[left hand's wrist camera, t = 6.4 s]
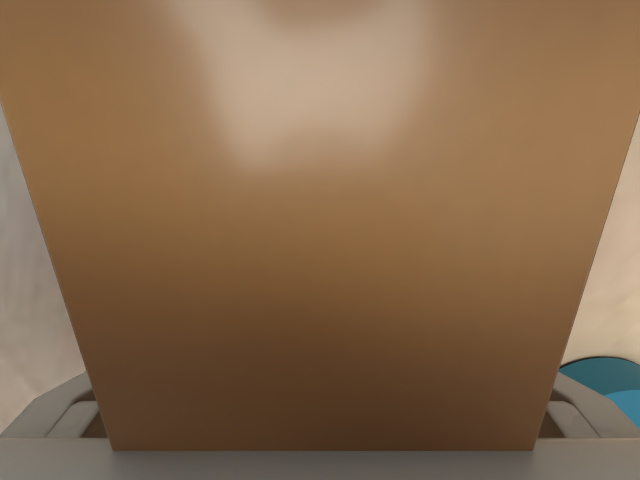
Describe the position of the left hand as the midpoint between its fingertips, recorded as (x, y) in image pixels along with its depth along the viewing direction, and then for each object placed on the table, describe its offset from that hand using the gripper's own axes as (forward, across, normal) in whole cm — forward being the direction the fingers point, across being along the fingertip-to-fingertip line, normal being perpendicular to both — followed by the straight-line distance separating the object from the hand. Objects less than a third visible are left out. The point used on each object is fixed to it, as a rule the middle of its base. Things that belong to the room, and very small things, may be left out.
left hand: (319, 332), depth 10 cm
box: (+4, 0, -8) cm, 8 cm away
